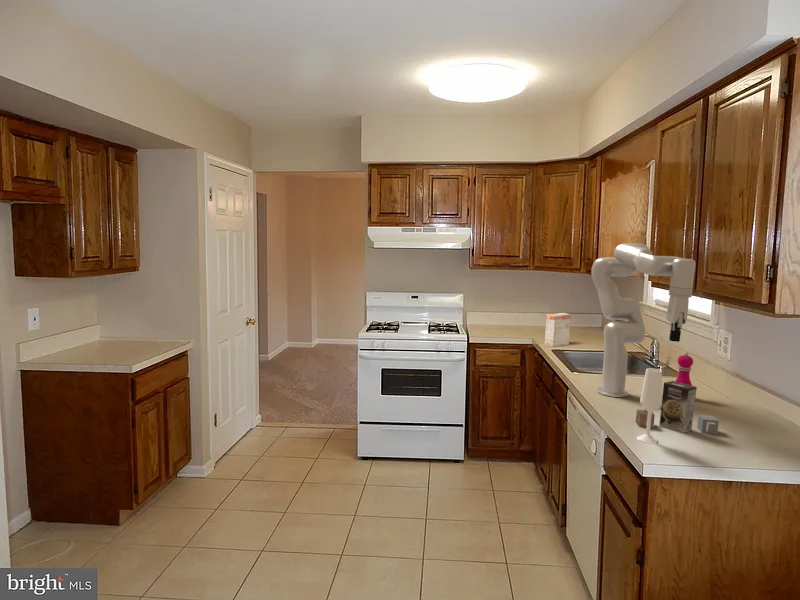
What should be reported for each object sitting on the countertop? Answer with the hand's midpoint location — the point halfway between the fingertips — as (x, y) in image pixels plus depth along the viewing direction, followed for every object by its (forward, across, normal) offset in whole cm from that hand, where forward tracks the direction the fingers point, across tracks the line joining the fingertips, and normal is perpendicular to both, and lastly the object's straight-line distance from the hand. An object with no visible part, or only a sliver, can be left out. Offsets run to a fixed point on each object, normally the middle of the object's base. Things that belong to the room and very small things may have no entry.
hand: (674, 340), depth 208 cm
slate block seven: (+29, +12, +11) cm, 34 cm away
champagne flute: (+29, +28, -12) cm, 42 cm away
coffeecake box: (+35, -133, -32) cm, 141 cm away
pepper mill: (+31, -32, +14) cm, 47 cm away
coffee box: (+30, +12, +1) cm, 32 cm away
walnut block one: (+30, +12, -10) cm, 33 cm away
